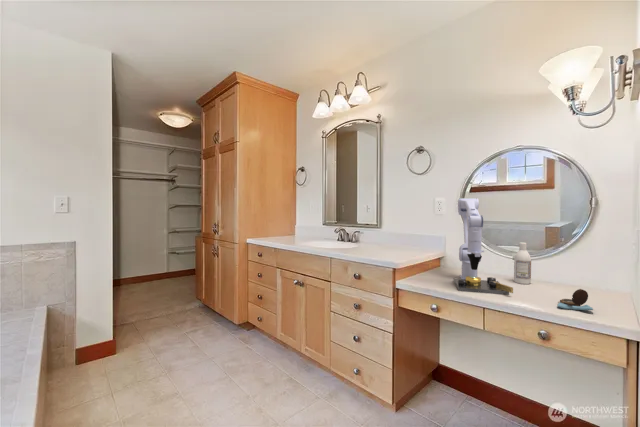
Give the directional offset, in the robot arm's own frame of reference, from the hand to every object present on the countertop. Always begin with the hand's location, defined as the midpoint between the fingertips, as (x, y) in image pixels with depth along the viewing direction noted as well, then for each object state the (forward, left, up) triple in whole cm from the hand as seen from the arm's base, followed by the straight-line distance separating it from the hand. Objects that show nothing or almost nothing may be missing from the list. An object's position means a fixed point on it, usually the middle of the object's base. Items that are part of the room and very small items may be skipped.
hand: (474, 269), depth 137 cm
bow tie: (+19, +31, -8) cm, 37 cm away
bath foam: (-15, +25, -9) cm, 30 cm away
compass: (+16, +31, -9) cm, 36 cm away
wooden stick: (+6, +10, -7) cm, 13 cm away
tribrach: (0, +2, -8) cm, 9 cm away
